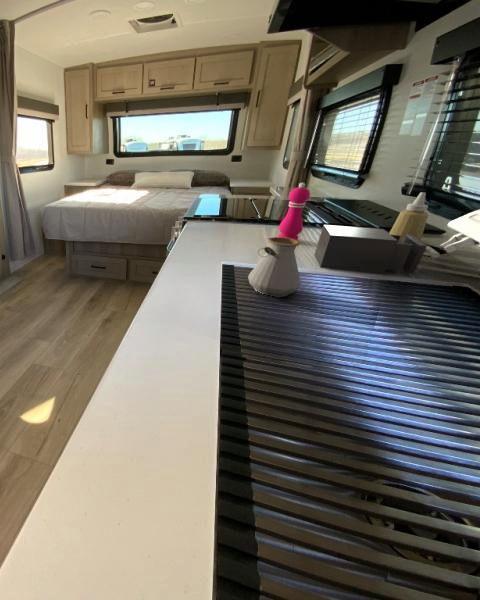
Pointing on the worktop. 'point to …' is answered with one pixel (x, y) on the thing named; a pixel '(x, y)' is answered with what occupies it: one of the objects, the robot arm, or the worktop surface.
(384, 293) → the worktop surface
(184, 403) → the worktop surface
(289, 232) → the pepper mill
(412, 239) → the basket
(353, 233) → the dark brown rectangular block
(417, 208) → the squeeze bottle
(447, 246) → the robot arm
